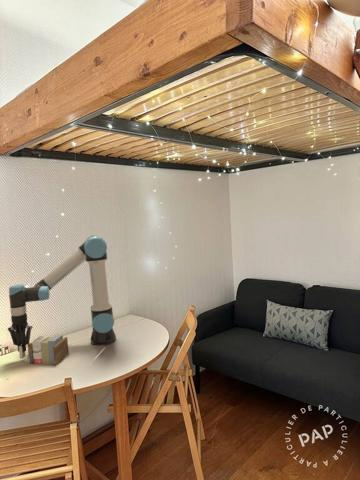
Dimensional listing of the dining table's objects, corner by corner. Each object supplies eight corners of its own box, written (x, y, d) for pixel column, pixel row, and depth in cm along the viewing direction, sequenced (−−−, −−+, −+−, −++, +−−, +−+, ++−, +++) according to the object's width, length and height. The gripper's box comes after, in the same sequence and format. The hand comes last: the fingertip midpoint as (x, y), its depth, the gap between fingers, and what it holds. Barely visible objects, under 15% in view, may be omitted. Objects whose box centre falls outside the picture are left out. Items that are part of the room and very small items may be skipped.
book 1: (57, 356, 179) (56, 337, 178) (49, 363, 170) (48, 343, 170) (50, 356, 179) (49, 336, 179) (42, 363, 171) (40, 342, 170)
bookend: (42, 356, 180) (41, 344, 180) (33, 363, 171) (32, 350, 171) (39, 356, 181) (38, 344, 180) (30, 363, 172) (29, 350, 171)
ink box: (42, 363, 171) (40, 341, 170) (33, 364, 171) (31, 341, 171) (50, 356, 179) (48, 335, 179) (42, 356, 180) (40, 335, 179)
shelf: (68, 356, 181) (67, 337, 180) (57, 367, 168) (55, 346, 168) (29, 357, 184) (27, 337, 183) (15, 367, 171) (13, 347, 170)
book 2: (63, 356, 179) (62, 334, 178) (55, 363, 170) (54, 340, 169) (57, 356, 179) (56, 334, 179) (49, 363, 170) (48, 340, 170)
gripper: (34, 311, 178) (38, 354, 180) (11, 312, 180) (15, 354, 181) (26, 315, 171) (30, 360, 172) (2, 316, 172) (7, 360, 174)
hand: (22, 357), depth 177 cm, fingers closed
